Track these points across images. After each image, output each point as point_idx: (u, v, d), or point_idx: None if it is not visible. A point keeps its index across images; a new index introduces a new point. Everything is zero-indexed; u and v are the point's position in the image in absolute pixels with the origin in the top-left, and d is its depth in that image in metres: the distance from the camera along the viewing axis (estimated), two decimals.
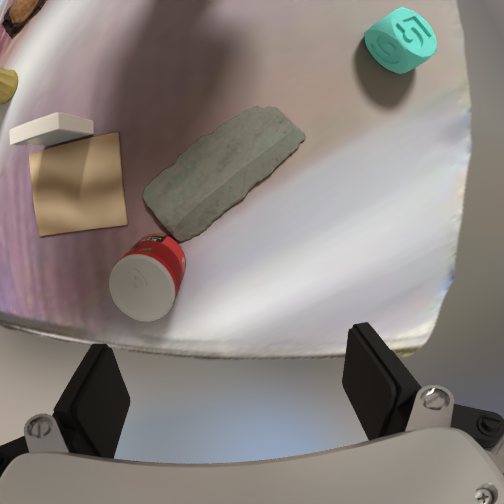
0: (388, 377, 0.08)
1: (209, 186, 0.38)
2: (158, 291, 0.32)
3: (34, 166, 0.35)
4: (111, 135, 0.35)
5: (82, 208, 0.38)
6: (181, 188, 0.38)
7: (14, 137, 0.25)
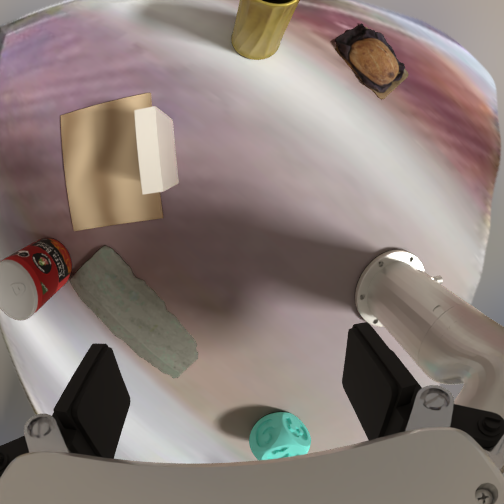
0: (388, 377, 0.08)
1: (117, 312, 0.38)
2: (15, 306, 0.27)
3: (133, 103, 0.32)
4: (159, 210, 0.36)
5: (85, 177, 0.34)
6: (112, 287, 0.37)
7: (142, 117, 0.24)
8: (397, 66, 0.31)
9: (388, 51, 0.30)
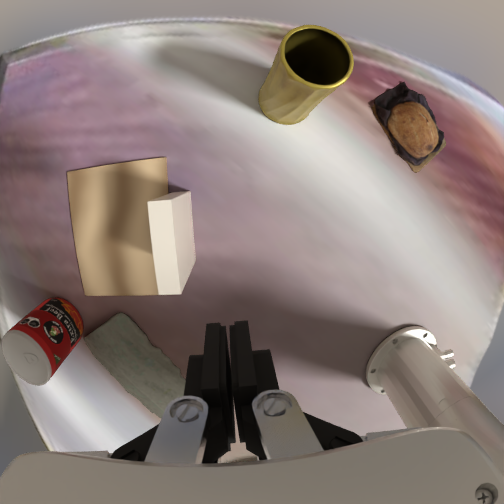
0: (235, 374, 0.08)
1: (132, 375, 0.37)
2: (28, 371, 0.26)
3: (147, 168, 0.31)
4: None
5: (95, 243, 0.33)
6: (128, 353, 0.36)
7: (156, 211, 0.23)
8: (437, 137, 0.30)
9: (430, 119, 0.29)
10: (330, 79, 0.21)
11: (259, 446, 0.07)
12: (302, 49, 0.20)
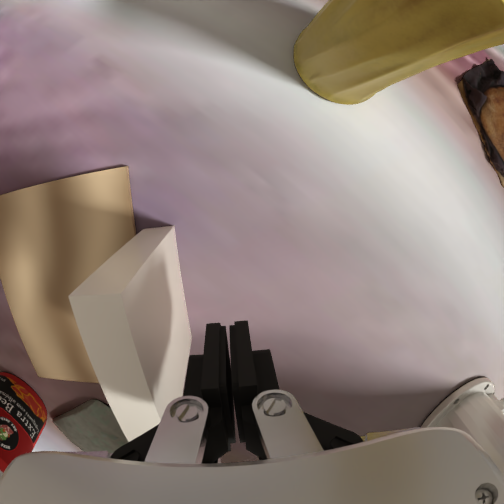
0: (235, 374, 0.08)
1: None
2: None
3: (96, 189, 0.17)
4: None
5: (36, 311, 0.18)
6: (113, 446, 0.22)
7: (93, 319, 0.09)
8: None
9: None
10: None
11: (259, 446, 0.07)
12: None
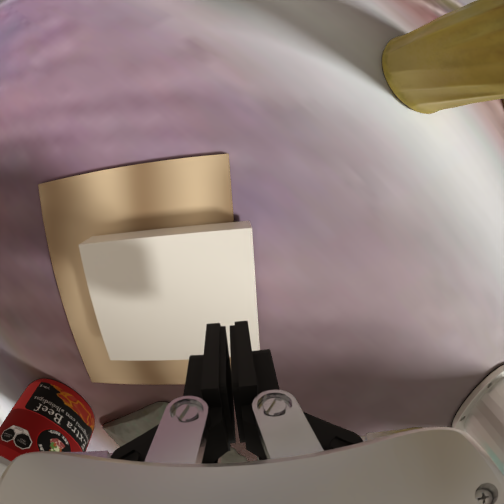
0: (235, 374, 0.08)
1: None
2: None
3: (192, 175, 0.17)
4: None
5: None
6: None
7: None
8: None
9: None
10: None
11: (259, 446, 0.07)
12: None
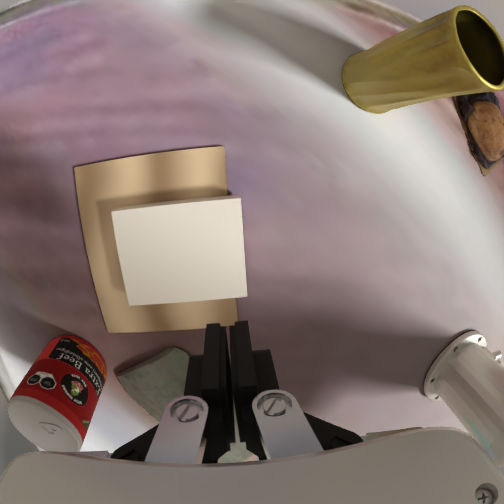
0: (235, 374, 0.08)
1: None
2: (49, 440, 0.18)
3: (197, 161, 0.23)
4: (233, 316, 0.27)
5: None
6: (180, 394, 0.29)
7: None
8: None
9: None
10: None
11: (259, 446, 0.07)
12: None
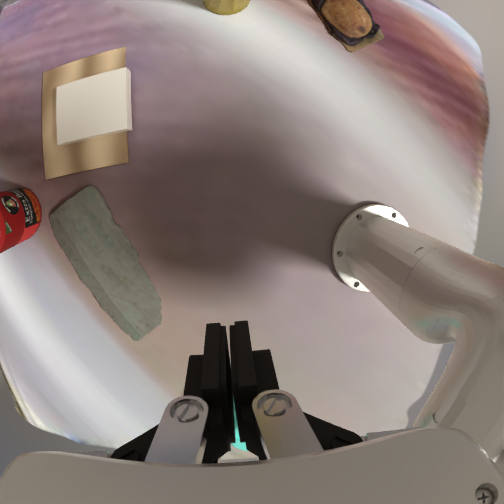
0: (235, 374, 0.08)
1: (89, 256, 0.36)
2: None
3: (109, 57, 0.29)
4: (125, 155, 0.34)
5: None
6: (89, 229, 0.35)
7: None
8: (370, 23, 0.29)
9: (362, 9, 0.28)
10: None
11: (259, 446, 0.07)
12: None
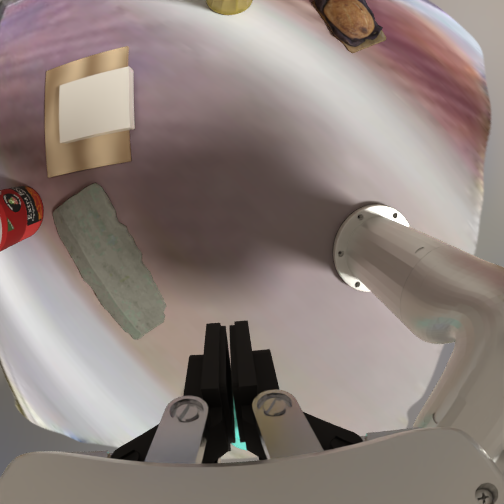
0: (235, 374, 0.08)
1: (91, 254, 0.36)
2: None
3: (112, 56, 0.30)
4: (127, 153, 0.34)
5: None
6: (92, 227, 0.35)
7: None
8: (372, 24, 0.29)
9: (365, 10, 0.28)
10: None
11: (259, 446, 0.07)
12: None
